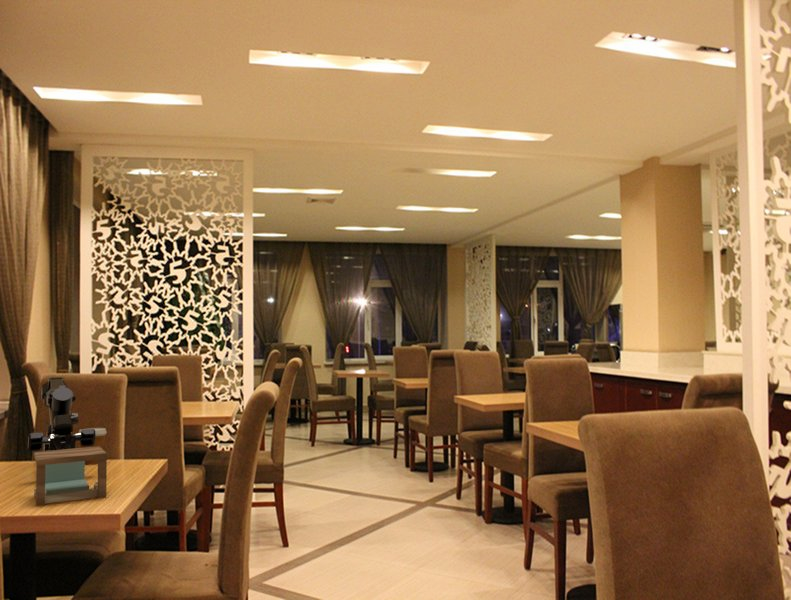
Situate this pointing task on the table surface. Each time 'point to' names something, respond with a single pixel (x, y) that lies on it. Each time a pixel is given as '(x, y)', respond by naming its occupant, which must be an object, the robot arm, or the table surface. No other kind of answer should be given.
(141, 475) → the table surface
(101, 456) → the walnut overhang shelf
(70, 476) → the teal plastic shell
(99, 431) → the disposable coffee cup
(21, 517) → the table surface
